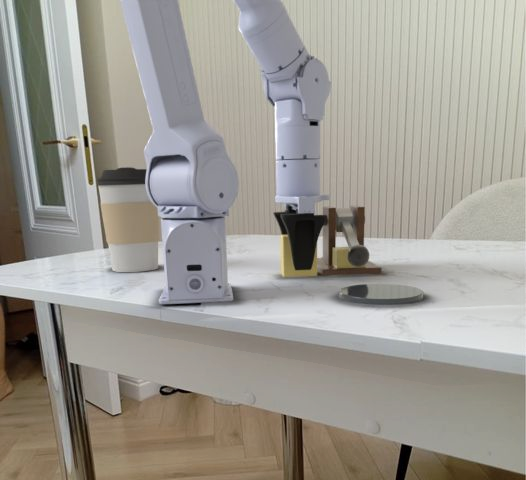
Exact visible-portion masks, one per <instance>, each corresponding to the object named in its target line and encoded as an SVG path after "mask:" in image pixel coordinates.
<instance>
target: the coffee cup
mask: <svg viewBox="0 0 526 480" xmlns="http://www.w3.org/2000/svg"><path fill="white" fill-rule="evenodd" d="M146 171H147V168H135V167H133V166H132V167H131V166H130V167H129V166H127V167H118V168H116V169H103V170H102V173H101V176H100V177H97V178H96V181H97V183H96V186H98V192H99V197H100V211H101V216H102V222H103V228H104V233H105V241H106V243H107V245H108V246H107V247H108V252H109V259H110V264H111V269H112V271H113V272H117V273H137V272H138V273H139V272H140V273H141V272H149V271H154V270H157V269H159V242H160V217H159V216H158V208H157V207H156V206H155V205H154V204H153V203H152V202H151V200H150V199H149V197H148V195H147V191H146V186H145V178H146Z"/></svg>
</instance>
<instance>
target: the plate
mask: <svg viewBox="0 0 526 480" xmlns="http://www.w3.org/2000/svg"><path fill="white" fill-rule="evenodd" d="M338 298H339V299H340V300H342V301H345V302H349V303H354V304H359V305H372V306H373V305H374V306H377V305H378V306H392V305H408V304H412V303H416V302H419V301H422V300H423V299H424V290H423V289H421V288H418V287H416V286H410V285H405V284H396V283H363V284H355V285H349V286H345V287H342V288H340V289H339V290H338Z"/></svg>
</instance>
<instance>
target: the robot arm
mask: <svg viewBox="0 0 526 480" xmlns="http://www.w3.org/2000/svg"><path fill="white" fill-rule="evenodd" d="M232 1H233V3H234V5H235V6H236V7H237V9H238V10H239V17H238V18H239V19H238V24H237V25H238V26H237V27H238V31H239V33H240V34H241V36H242V38H243V40H244V41H245V43H246V45H247V47H248V48H249V50H250V52H251V53H252V55H253V57H254V58H255V60H256V62H257V64H258V66H259V67H260V76H261V77H262V83H263V92H264V96H265V99H266V100H267V101H268V102H269V103H270V105H271V106H272V107H273V108H274V128H275V130H274V131H275V135H274V136H275V186H276V188H275V191H276V192H275V193H276V195H275V196H274V202H275V203H278V204H283V207H284V211H274V212H272V214H273V216H274V219H275V220H276V222H277V225H278V227H279V230H280V235H288V237H289V241H290V247H291V254H292V260H293V265H294V268H295V270H311V268H312V265H313V261H314V255H315V250H316V245H317V246H318V240H319V237H320V234H321V232H322V230H323V225H324V223H325V221H326V218H327V216H326V215H323V214H316V203H321V202H322V201H330V194H321V121H322V120H323V119H324V116H325V106H326V102H327V100H328V98H329V96H330V93H331V87H332V81H331V80H330V79H329V78H330V77H329V73H328V70H327V67H326V66H325V64H324V63H323V62H322V61H321V60H320V59H318V57H315V56H314V55H310V53H309V51H308V49H307V47H306V45H305V44H304V40H303V39H302V38H301V35H300V33H299V31H298V29H297V28H296V26H295V24H294V22H293V20H292V17H291V16H290V14H289V12H288V9H287V8H286V6H285V4H284V2H283V1H282V0H232ZM119 3H120V6H121V11H122V14H123V18H124V22H125V26H126V29H127V34H128V38H129V43H130V45H131V49H132V54H133V57H134V60H135V65H136V69H137V72H138V76H139V80H140V84H141V88H142V92H143V96H144V100H145V102H146V108H147V111H148V112H147V113H148V116H149V119H150V123H151V127H152V133H151V135H150V137H149V139H148V141H147V143H146V145H145V147H144V149H143V156H144V160H145V165H146V169H147V171H146V178H145V186H146V191H147V195H148V197H149V199H150V200H151V202H152V203H153V204H154V205H155V206H156V207H157V208H158V216H159V218H160V226H161V227H160V228H161V241H162V256H163V269H164V284H165V286H164V288H163V290H162V292H161V294H160V297H159V298H158V304H159V305H177V304H178V305H181V304H202V303H204V304H205V303H206V304H207V303H225V302H227V303H228V302H233V301H234V294H233V289H232V284H231V283H229V274H228V251H227V227H226V226H227V225H226V217H229V216H230V211H229V210H230V208H231V207H232V206H233V205H234V203H235V202H236V199H237V196H238V193H239V187H240V186H239V185H240V184H239V183H240V182H239V181H240V180H239V175H238V171H237V169H236V166H235V164H234V163H233V161H232V160H231V158H230V156H229V154H228V151H227V150H226V146H225V141H224V138H223V136H222V135H221V134H220V133H218V131H217V130H215V129H214V127H212V126H211V124H209V123H208V122H207V121H206V120H205V117H204V112H203V109H202V104H201V101H200V94H199V90H198V85H197V81H196V77H195V72H194V66H193V62H192V59H191V54H190V50H189V45H188V41H187V35H186V31H185V27H184V23H183V19H182V18H183V17H182V12H181V9H180V4H179V0H119Z"/></svg>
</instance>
